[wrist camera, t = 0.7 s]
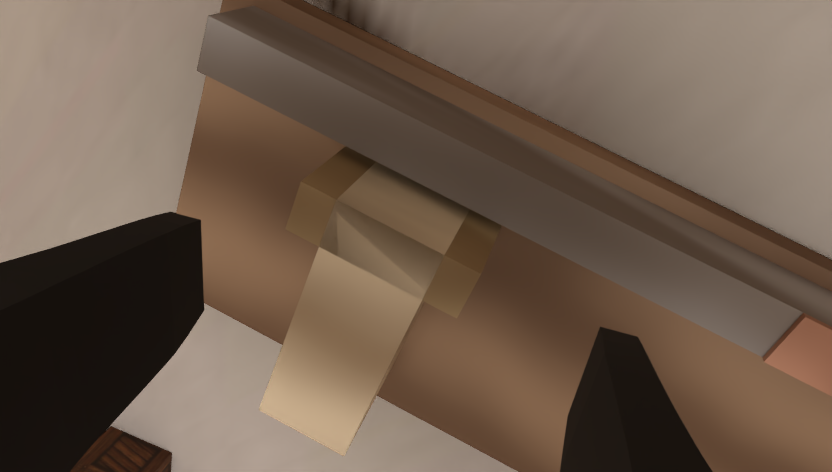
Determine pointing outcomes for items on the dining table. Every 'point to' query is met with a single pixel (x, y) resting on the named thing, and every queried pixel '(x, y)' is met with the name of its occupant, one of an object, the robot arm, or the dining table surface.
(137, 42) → the dining table surface
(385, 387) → the board
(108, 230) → the robot arm
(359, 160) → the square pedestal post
